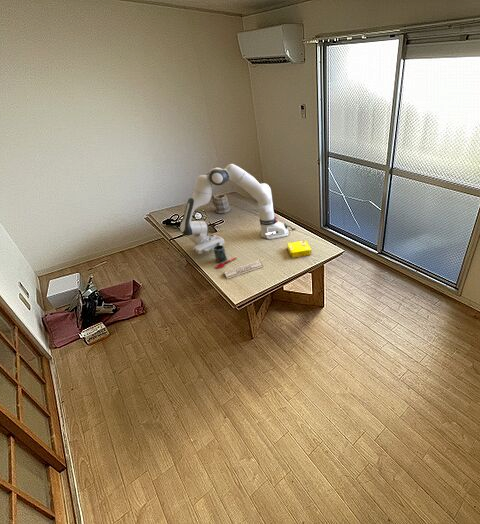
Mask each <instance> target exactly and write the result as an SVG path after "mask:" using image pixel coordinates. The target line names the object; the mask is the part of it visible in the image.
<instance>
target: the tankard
mask: <svg viewBox="0 0 480 524" xmlns="http://www.w3.org/2000/svg"><path fill="white" fill-rule="evenodd" d="M211 200H212V204H213V206H214V207H215V213H217V214H226V213H229V212H231V207H230V204H229V202H228V200H229V199H228V197H227V195H226V194H216V195H215V194H213V193H212V196H211Z"/></svg>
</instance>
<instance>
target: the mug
mask: <svg viewBox="0 0 480 524" xmlns="http://www.w3.org/2000/svg"><path fill="white" fill-rule="evenodd" d="M212 250H213V253H214V257H215V261H216V262H217V263H218V264H221V263H225V262H227V261H228V258H227V254H226V250H225V247H224V244H222V245H217V246H215V247H214V248H213V249H212Z"/></svg>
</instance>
